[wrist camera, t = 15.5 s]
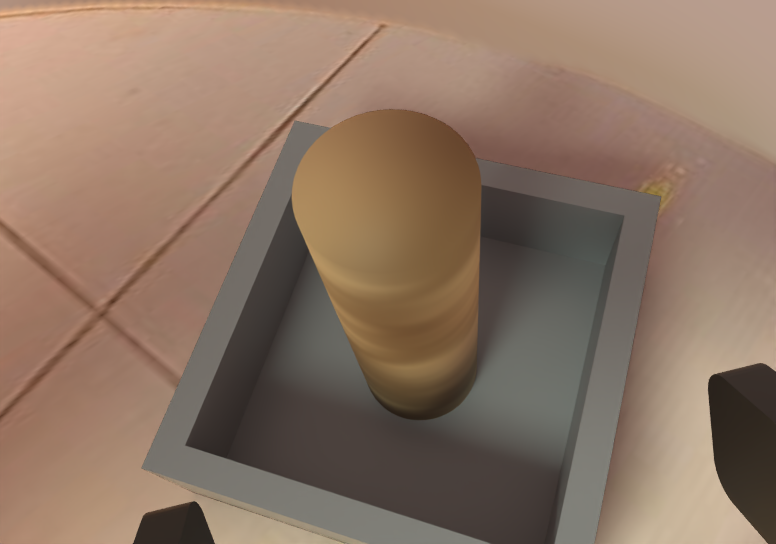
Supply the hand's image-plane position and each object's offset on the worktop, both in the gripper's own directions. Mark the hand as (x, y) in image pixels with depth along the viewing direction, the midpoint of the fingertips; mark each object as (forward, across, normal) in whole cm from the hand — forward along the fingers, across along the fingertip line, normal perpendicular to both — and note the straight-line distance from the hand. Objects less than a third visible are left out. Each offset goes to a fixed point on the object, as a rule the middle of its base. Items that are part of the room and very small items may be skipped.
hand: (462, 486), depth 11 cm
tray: (+15, 0, +6) cm, 16 cm away
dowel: (+14, 0, +5) cm, 15 cm away
